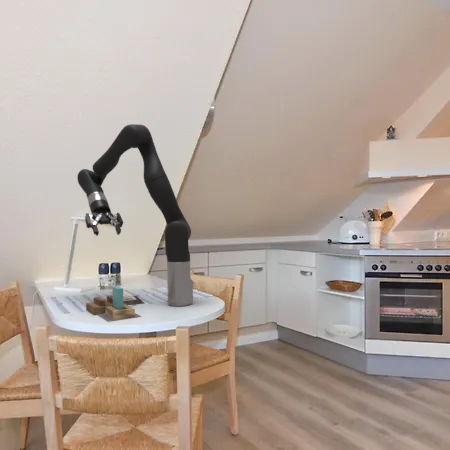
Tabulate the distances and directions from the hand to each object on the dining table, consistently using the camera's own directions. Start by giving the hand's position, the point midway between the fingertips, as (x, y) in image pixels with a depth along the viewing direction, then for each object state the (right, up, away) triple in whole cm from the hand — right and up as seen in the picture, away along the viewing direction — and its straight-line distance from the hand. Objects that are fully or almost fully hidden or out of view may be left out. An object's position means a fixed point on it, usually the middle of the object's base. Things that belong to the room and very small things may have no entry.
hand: (108, 233), depth 170 cm
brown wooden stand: (+1, -29, -8) cm, 30 cm away
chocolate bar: (+6, -29, +10) cm, 31 cm away
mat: (+8, -29, -17) cm, 35 cm away
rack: (+8, -29, -17) cm, 34 cm away
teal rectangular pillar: (+8, -29, -17) cm, 34 cm away
